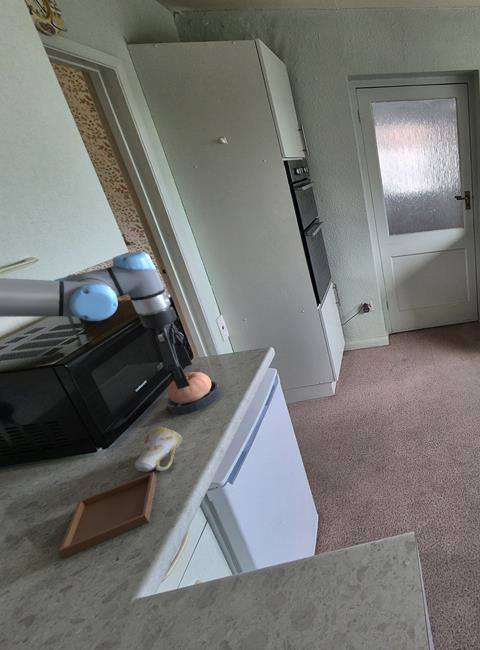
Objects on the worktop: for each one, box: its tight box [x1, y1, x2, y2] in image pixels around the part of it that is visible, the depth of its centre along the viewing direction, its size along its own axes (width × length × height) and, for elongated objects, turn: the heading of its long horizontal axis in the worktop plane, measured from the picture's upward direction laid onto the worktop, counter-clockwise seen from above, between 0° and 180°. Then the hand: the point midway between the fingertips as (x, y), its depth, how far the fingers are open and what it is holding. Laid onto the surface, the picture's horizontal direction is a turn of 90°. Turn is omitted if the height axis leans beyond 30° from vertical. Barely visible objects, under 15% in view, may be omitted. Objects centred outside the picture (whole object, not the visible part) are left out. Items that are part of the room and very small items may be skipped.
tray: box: [57, 471, 158, 559], centre depth 78 cm, size 13×13×2 cm
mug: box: [134, 427, 183, 473], centre depth 92 cm, size 8×10×10 cm
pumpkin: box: [167, 371, 212, 404], centre depth 112 cm, size 11×11×8 cm
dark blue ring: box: [165, 380, 221, 415], centre depth 114 cm, size 13×13×2 cm
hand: (185, 375), depth 111 cm, fingers open, 13 cm apart
